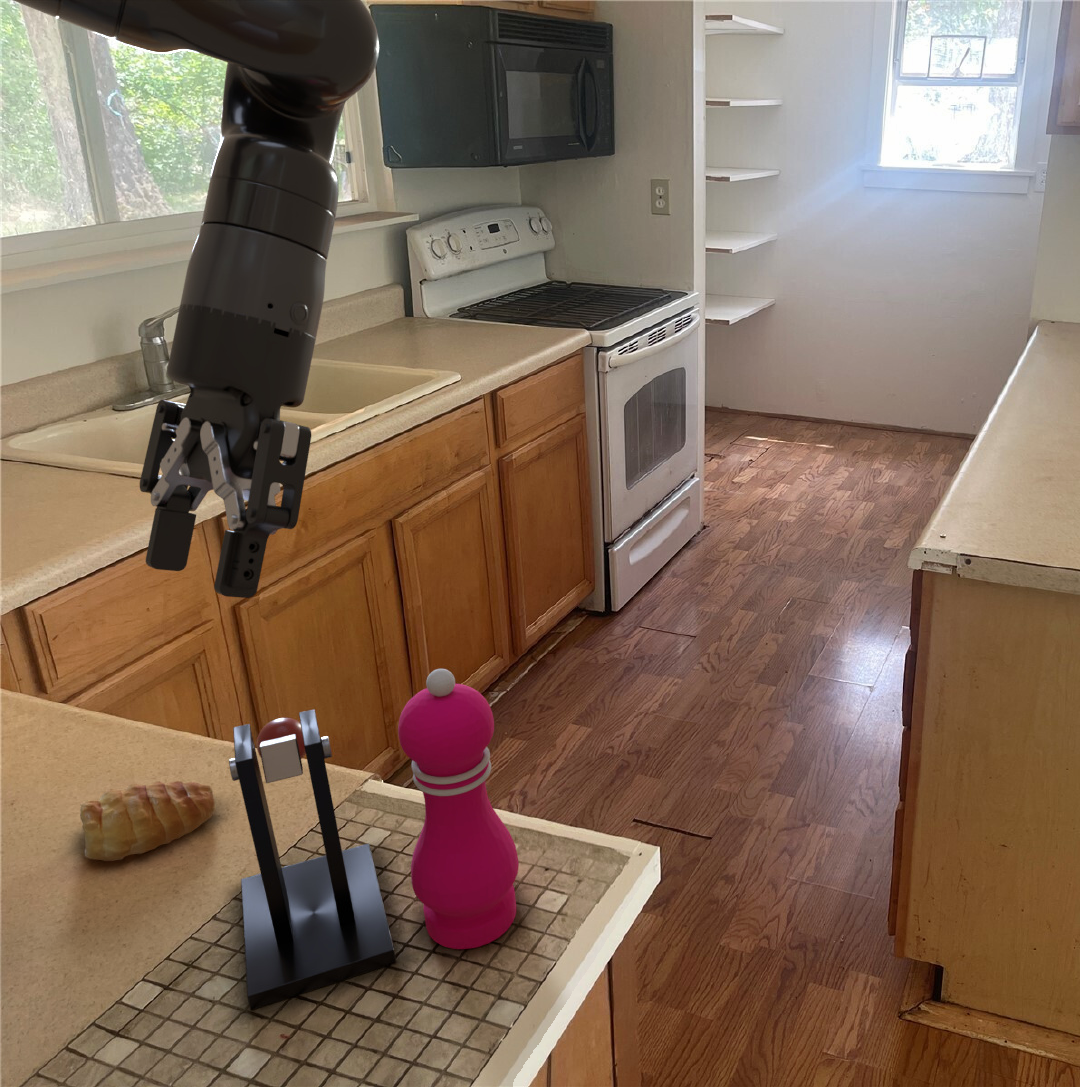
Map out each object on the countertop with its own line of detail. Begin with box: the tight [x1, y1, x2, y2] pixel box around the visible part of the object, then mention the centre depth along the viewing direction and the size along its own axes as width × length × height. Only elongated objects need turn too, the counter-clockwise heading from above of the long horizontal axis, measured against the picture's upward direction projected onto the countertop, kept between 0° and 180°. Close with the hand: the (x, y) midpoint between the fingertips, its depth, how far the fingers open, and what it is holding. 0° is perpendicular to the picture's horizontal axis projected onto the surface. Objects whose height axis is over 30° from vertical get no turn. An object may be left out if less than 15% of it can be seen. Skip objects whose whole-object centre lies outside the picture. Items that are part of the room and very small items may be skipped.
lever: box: [256, 717, 306, 784], centre depth 71 cm, size 13×4×4 cm, turn 25°
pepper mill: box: [397, 668, 520, 950], centre depth 68 cm, size 7×7×20 cm
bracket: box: [228, 709, 397, 1011], centre depth 68 cm, size 12×9×16 cm
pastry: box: [79, 780, 217, 862], centre depth 80 cm, size 9×7×4 cm
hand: (198, 582), depth 61 cm, fingers open, 8 cm apart
